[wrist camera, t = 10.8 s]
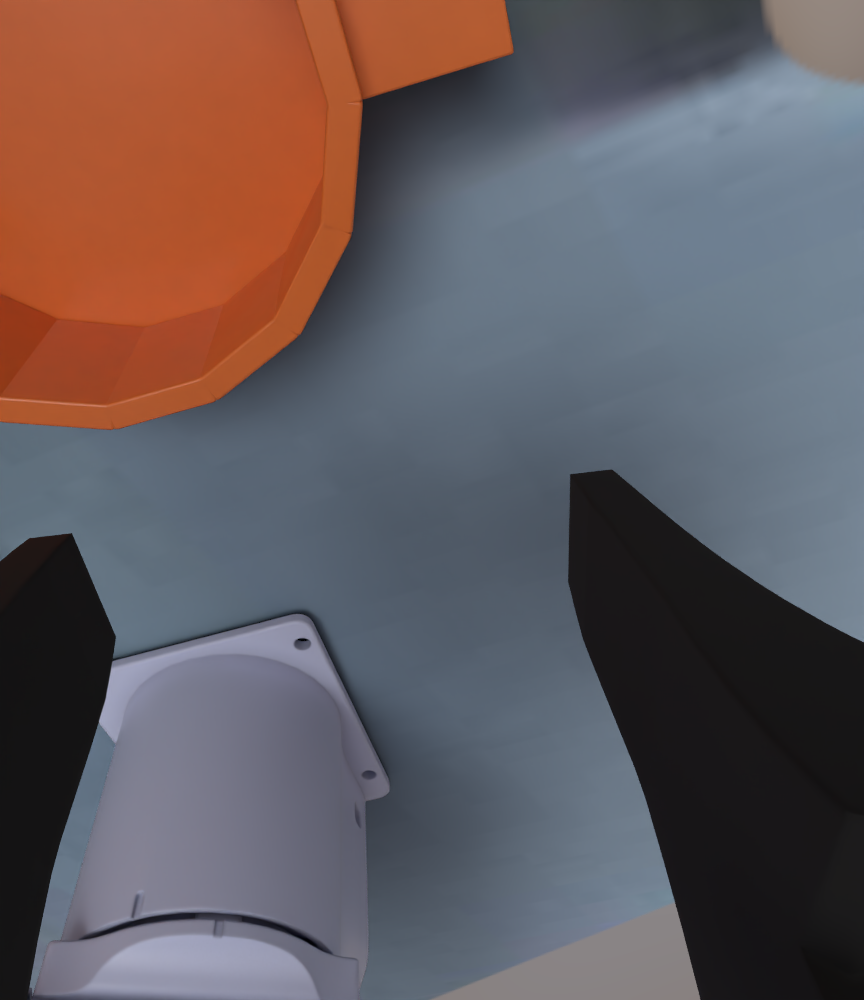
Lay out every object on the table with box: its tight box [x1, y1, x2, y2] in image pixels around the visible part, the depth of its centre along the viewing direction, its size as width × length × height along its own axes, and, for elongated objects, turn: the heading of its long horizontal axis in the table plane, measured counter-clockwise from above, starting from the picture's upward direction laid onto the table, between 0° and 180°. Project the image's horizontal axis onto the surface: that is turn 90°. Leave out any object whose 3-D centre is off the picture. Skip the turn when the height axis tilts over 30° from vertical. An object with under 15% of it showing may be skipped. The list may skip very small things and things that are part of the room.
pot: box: [0, 0, 514, 430], centre depth 15 cm, size 11×17×4 cm
